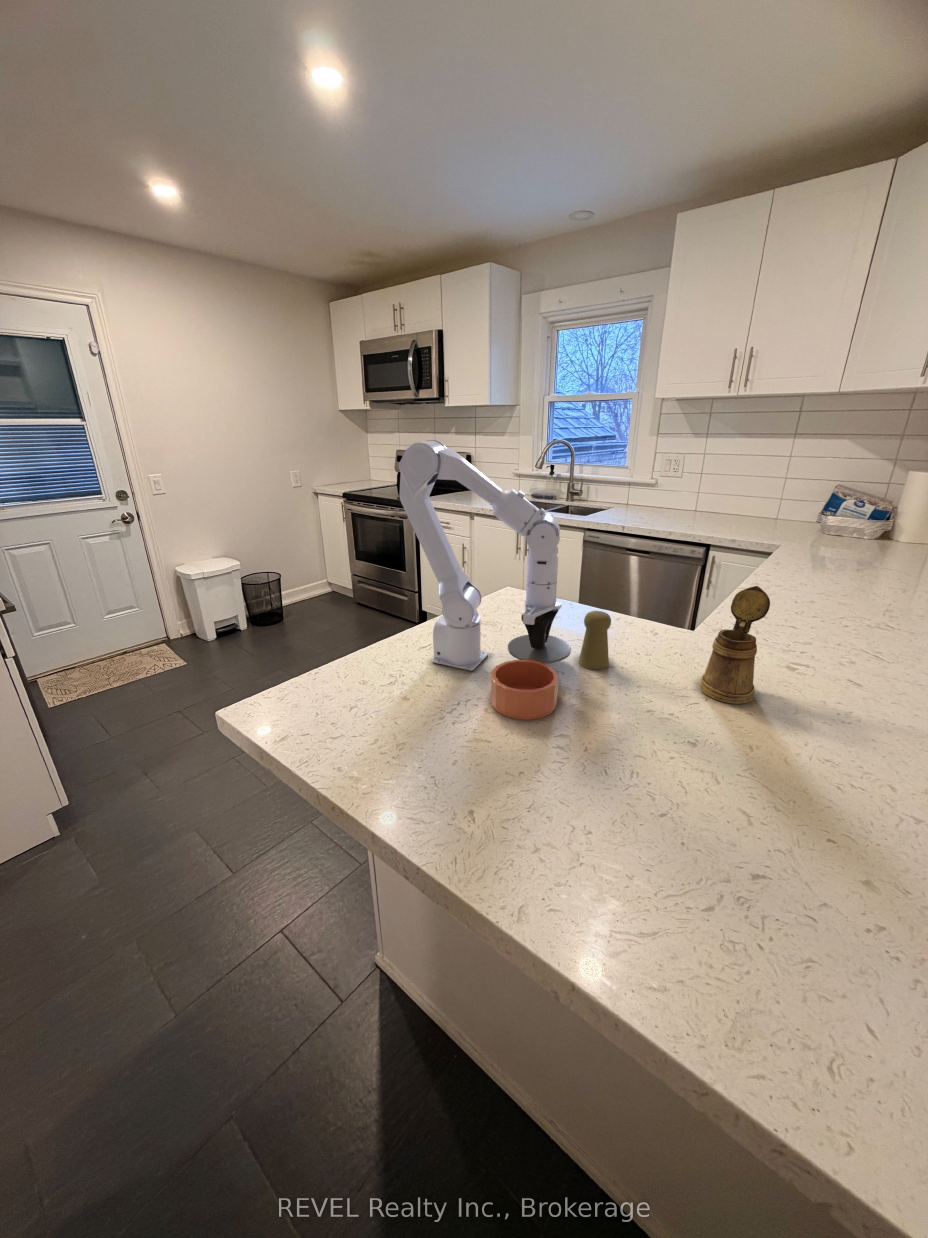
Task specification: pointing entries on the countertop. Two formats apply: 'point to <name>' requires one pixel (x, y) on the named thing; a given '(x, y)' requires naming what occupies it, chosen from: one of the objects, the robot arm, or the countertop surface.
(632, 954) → the countertop surface
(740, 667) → the wooden mug
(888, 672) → the countertop surface
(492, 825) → the countertop surface
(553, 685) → the terracotta bowl
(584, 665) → the olive green pepper mill
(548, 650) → the lid
